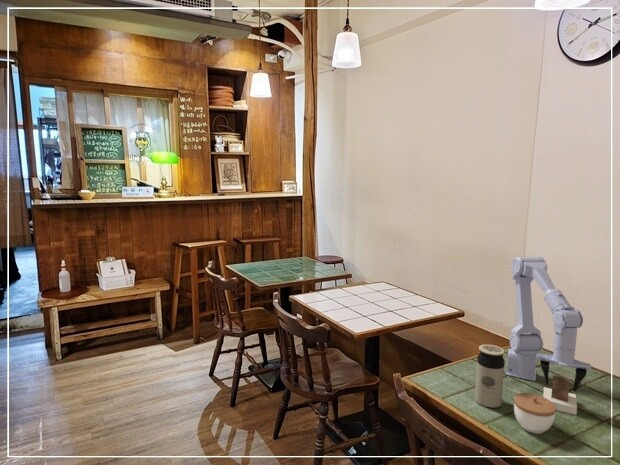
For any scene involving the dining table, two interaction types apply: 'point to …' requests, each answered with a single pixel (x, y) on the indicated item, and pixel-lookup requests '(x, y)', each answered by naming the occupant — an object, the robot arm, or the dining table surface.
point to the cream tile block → (562, 402)
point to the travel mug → (489, 376)
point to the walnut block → (560, 387)
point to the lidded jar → (534, 412)
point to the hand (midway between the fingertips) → (560, 386)
